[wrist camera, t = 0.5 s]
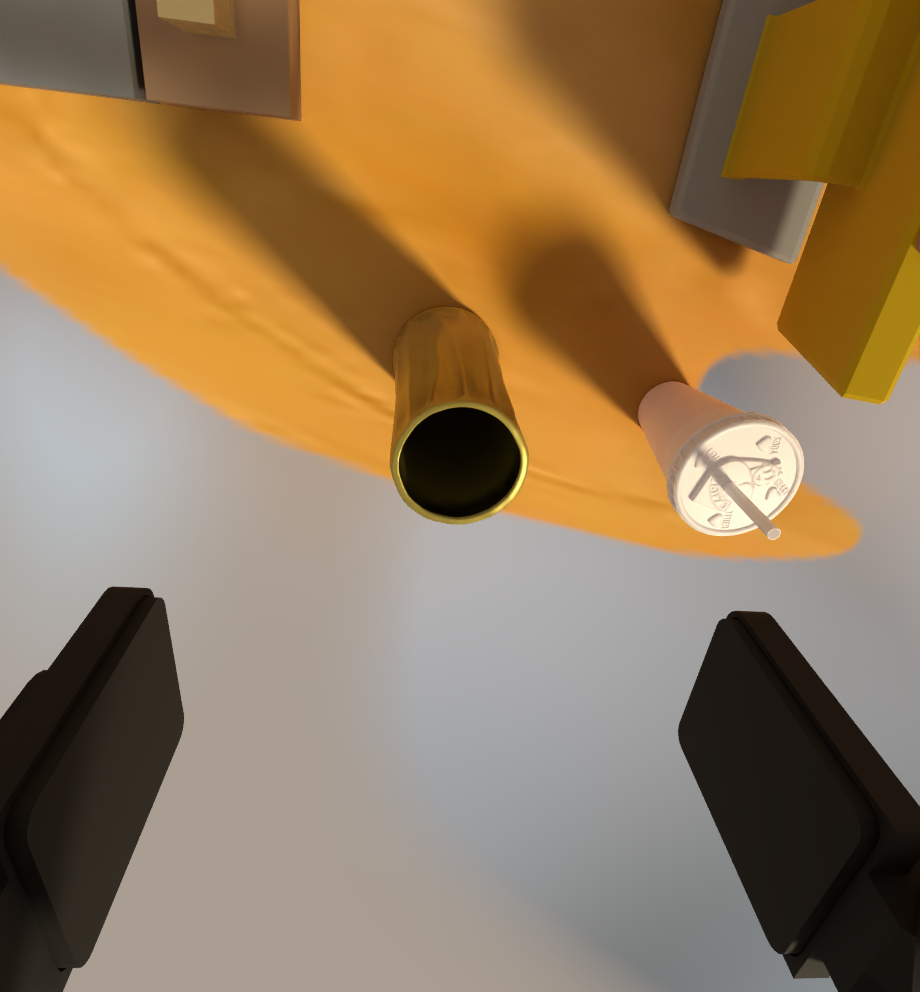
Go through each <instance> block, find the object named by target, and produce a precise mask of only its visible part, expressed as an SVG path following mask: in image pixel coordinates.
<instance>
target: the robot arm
mask: <svg viewBox="0 0 920 992" xmlns="http://www.w3.org/2000/svg"><path fill="white" fill-rule="evenodd" d="M183 724H184V713H183V707H182V701H181V695H180V690H179V683H178V678H177V672H176V666H175V660H174V654H173V648H172V642H171V637H170V631H169V625H168V619H167V614H166V607H165V603H164V600H163V599H162V598H155V597H154V595H153V592H152V591H151V589H148V588H133V587H110V588H108V589H107V590H106V591H105V592H104V593H103V595H102V596H101V597H100V599H99V600H98V602H97V603H96V604H95V606H94V607H93V608H92V610H91V611H90V613H89V614H88V615H87V617H86V618H85V619H84V621H83V622H82V624H81V625H80V626H79V628H78V629H77V631H76V632H75V633H74V635H73V636H72V637H71V639H70V640H69V642H68V643H67V644H66V645H65V647H64V648H63V650H62V651H61V652H60V654H59V655H58V656H57V658H56V659H55V661H54V662H53V663H52V665H51V666H50V667H49V669H48V670H43V671H41V672H39V673H37V674H36V675H35V676H34V677H33V678H32V679H31V680H30V681H29V682H28V683H27V684H26V686H25V687H24V688H23V690H22V691H21V693H20V694H19V695H18V696H17V698H16V699H15V701H14V702H13V703H12V704H11V706H10V707H9V709H8V710H7V711H6V712H5V714H4V715H3V716H2V718H1V719H0V992H63V989H64V987H65V985H66V983H67V980H68V978H69V976H70V973H71V971H72V968H80V967H82V966H83V965H85V964H86V962H87V961H88V959H89V957H90V955H91V953H92V951H93V949H94V946H95V944H96V942H97V939H98V937H99V934H100V932H101V929H102V927H103V925H104V922H105V920H106V917H107V915H108V912H109V910H110V907H111V905H112V903H113V900H114V898H115V895H116V893H117V891H118V888H119V886H120V883H121V881H122V878H123V876H124V874H125V871H126V869H127V866H128V864H129V861H130V859H131V857H132V854H133V852H134V849H135V847H136V845H137V842H138V840H139V837H140V835H141V832H142V830H143V828H144V825H145V822H146V820H147V818H148V815H149V813H150V810H151V808H152V806H153V803H154V801H155V798H156V796H157V793H158V791H159V788H160V786H161V784H162V781H163V779H164V776H165V774H166V772H167V769H168V767H169V765H170V762H171V760H172V757H173V755H174V752H175V750H176V748H177V745H178V743H179V740H180V737H181V735H182V730H183ZM678 736H679V742H680V745H681V748H682V750H683V752H684V755H685V757H686V759H687V761H688V763H689V766H690V768H691V770H692V772H693V775H694V777H695V779H696V781H697V784H698V786H699V788H700V790H701V792H702V795H703V797H704V799H705V801H706V804H707V806H708V808H709V810H710V812H711V815H712V817H713V819H714V822H715V824H716V826H717V828H718V831H719V833H720V835H721V837H722V839H723V842H724V844H725V846H726V848H727V850H728V853H729V855H730V857H731V859H732V862H733V864H734V866H735V868H736V870H737V873H738V875H739V877H740V879H741V882H742V884H743V886H744V888H745V891H746V893H747V895H748V898H749V900H750V902H751V904H752V906H753V909H754V911H755V913H756V915H757V918H758V919H759V922H760V924H761V927H762V929H763V931H764V933H765V936H766V938H767V940H768V942H769V943H770V945H771V947H772V948H773V949H774V950H775V951H776V952H777V953H779V954H783V957H784V959H785V961H786V963H787V965H788V967H789V969H790V972H791V974H792V976H793V978H794V979H795V978H828V977H829V976H831V978H832V980H833V982H834V984H835V986H836V988H837V990H838V992H920V806H919V805H918V804H917V802H916V801H915V800H914V799H913V797H912V796H911V795H910V793H909V792H908V791H907V790H906V788H905V787H904V786H903V785H902V783H901V782H900V781H899V779H898V778H897V777H896V776H895V774H894V773H893V772H892V770H891V769H890V768H889V766H888V765H887V764H886V763H885V761H884V760H883V759H882V757H881V756H880V755H879V754H878V752H877V751H876V750H875V748H874V747H873V746H872V744H871V743H870V742H869V741H868V739H867V738H866V737H865V735H864V734H863V733H862V732H861V730H860V729H859V728H858V726H857V725H856V724H855V723H854V721H853V720H852V719H851V717H850V716H849V715H848V713H847V712H846V711H845V710H844V708H843V707H842V706H841V704H840V703H839V702H838V701H837V699H836V698H835V697H834V695H833V694H832V693H831V692H830V691H829V689H828V688H827V686H826V685H825V684H824V683H823V681H822V680H821V679H820V678H819V676H818V675H817V674H816V672H815V671H814V670H813V668H812V667H811V666H810V664H809V663H808V662H807V661H806V659H805V658H804V657H803V655H802V654H801V653H800V652H799V650H798V649H797V648H796V646H795V645H794V644H793V643H792V641H791V640H790V639H789V637H788V636H787V635H786V634H785V632H784V631H783V630H782V628H781V627H780V626H779V625H778V623H777V622H776V621H775V619H774V618H773V617H772V616H771V615H770V614H768V613H766V612H751V611H733V612H731V613H730V614H728V616H727V618H726V619H722V620H720V621H719V622H718V624H717V627H716V629H715V632H714V635H713V637H712V640H711V642H710V645H709V647H708V650H707V653H706V655H705V658H704V661H703V663H702V666H701V668H700V671H699V674H698V676H697V679H696V682H695V684H694V687H693V689H692V692H691V695H690V697H689V700H688V702H687V705H686V708H685V710H684V713H683V715H682V718H681V721H680V723H679V728H678Z"/></svg>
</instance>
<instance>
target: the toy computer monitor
mask: <svg viewBox="0 0 920 992" xmlns="http://www.w3.org/2000/svg"><path fill="white" fill-rule="evenodd" d="M824 183H828V185H827V187H826V190H825V193H824V196H823V198H822V201H821V204H820V207H819V209H818V212H817V215H816V218H815V220H814V223H813V226H812V229H811V231H810V234H809V237H808V240H807V242H806V245H805V248H804V251H803V253H802V256H801V259H800V262H799V264H798V267H797V270H796V273H795V275H794V278H793V281H792V284H791V286H790V289H789V292H788V295H787V297H786V300H785V303H784V306H783V309H782V311H781V314H780V317H779V320H778V322H777V325H778V330H779V331H780V333H781V334H782V335H783V336H784V337H785V338H786V339H787V340H788V341H789V342H790V343H791V344H792V345H793V346H794V347H795V348H796V349H797V350H798V351H799V353H800V354H801V355H802V356H803V357H804V358H805V359H806V360H807V361H808V362H809V363H810V364H811V365H812V366H813V367H814V368H815V369H816V370H817V371H818V373H819V374H820V375H821V376H822V377H823V378H824V379H825V380H826V381H827V382H828V383H829V384H830V385H831V386H832V387H833V388H834V389H835V390H836V391H837V392H838V394H839V395H840V396H841V397H844V398H850V399H855V400H860V401H865V402H870V403H875V404H881V403H884V402H885V401H888V399H889V397H890V395H891V393H892V391H893V389H894V387H895V385H896V382H897V381H898V378H899V376H900V374H901V372H902V370H903V368H904V366H905V364H906V362H907V360H908V357H909V355H910V353H911V351H912V349H913V347H914V345H915V343H916V341H917V339H918V336H919V334H920V0H723V2H722V6H721V10H720V13H719V17H718V21H717V25H716V29H715V33H714V37H713V41H712V44H711V48H710V52H709V56H708V60H707V64H706V68H705V72H704V75H703V79H702V83H701V87H700V91H699V95H698V99H697V103H696V106H695V110H694V114H693V118H692V122H691V126H690V130H689V134H688V137H687V141H686V145H685V149H684V153H683V157H682V161H681V165H680V168H679V172H678V176H677V180H676V184H675V188H674V192H673V196H672V199H671V203H670V207H669V214H670V216H671V217H674V218H676V219H679V220H681V221H684V222H686V223H689V224H691V225H694V226H696V227H698V228H701V229H703V230H706V231H708V232H711V233H713V234H716V235H718V236H721V237H723V238H726V239H728V240H730V241H733V242H735V243H738V244H740V245H743V246H745V247H748V248H750V249H753V250H755V251H757V252H760V253H762V254H765V255H767V256H770V257H772V258H775V259H777V260H780V261H782V262H785V263H789V264H792V263H794V262H796V260H797V257H798V254H799V251H800V248H801V246H802V243H803V240H804V237H805V235H806V232H807V229H808V226H809V223H810V221H811V218H812V215H813V212H814V210H815V207H816V204H817V201H818V198H819V196H820V193H821V190H822V187H823V185H824Z"/></svg>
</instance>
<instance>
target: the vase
mask: <svg viewBox="0 0 920 992" xmlns="http://www.w3.org/2000/svg"><path fill="white" fill-rule="evenodd" d="M393 370H394V373H395V391H396V404H395V416H394V425H393V435H392V443H391V453H390V469H391V473H392V477H393V480H394V482H395V485H396V487H397V490H398V492H399V494H400V496H401V497H402V499H403V501H404V502H405V503H406V504H407V505H408V506H409V507H410V508H411V509H413V510H414V511H415V512H417V513H418V514H420V515H422V516H423V517H425V518H427V519H430V520H433V521H437V522H442V523H447V524H468V523H473V522H477V521H480V520H483V519H486V518H488V517H491V516H493V515H494V514H496V513H498V512H499V511H501V510H502V509H504V508H505V507H506V506H507V505H508V504H509V503H510V502H511V501H512V500H513V499H514V498H515V496H516V495H517V494H518V493H519V491H520V489H521V487H522V485H523V483H524V481H525V477H526V474H527V469H528V462H529V454H528V449H527V446H526V443H525V440H524V438H523V435H522V432H521V430H520V428H519V425H518V423H517V420H516V417H515V413H514V409H513V407H512V404H511V401H510V398H509V395H508V393H507V390H506V387H505V384H504V381H503V376H502V371H501V367H500V364H499V353H498V348H497V344H496V341H495V338H494V336H493V334H492V332H491V331H490V329H489V328H488V326H487V325H486V324H485V323H484V322H483V321H482V320H481V319H480V318H479V317H477V316H476V315H474V314H473V313H471V312H469V311H467V310H464V309H461V308H457V307H449V306H442V307H434V308H431V309H428V310H425V311H423V312H421V313H419V314H418V315H416V316H415V317H413V318H412V319H410V320H409V321H408V322H407V323H406V324H405V326H404V327H403V329H402V330H401V332H400V334H399V336H398V338H397V340H396V342H395V345H394V349H393Z"/></svg>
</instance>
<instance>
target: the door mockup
mask: <svg viewBox="0 0 920 992" xmlns="http://www.w3.org/2000/svg"><path fill="white" fill-rule="evenodd" d="M234 6H235V24H236V39H233V38H225V37H218V36H210V35H203V34H195V33H188V32H184V31H183V30H181V29H179V28H177V27H175V26H174V25H172V24H170V23H168V22H167V21H165V20H163V19H161V18H159V17H158V11H157V1H156V0H0V84H2V85H10V86H18V87H27V88H35V89H43V90H51V91H59V92H68V93H76V94H84V95H92V96H100V97H108V98H117V99H125V100H133V101H141V102H149V103H158V104H160V103H164V104H168V105H174V106H182V107H190V108H198V109H207V110H215V111H223V112H231V113H239V114H248V115H256V116H264V117H272V118H280V119H289V120H297V121H301V77H300V19H299V0H234Z"/></svg>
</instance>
